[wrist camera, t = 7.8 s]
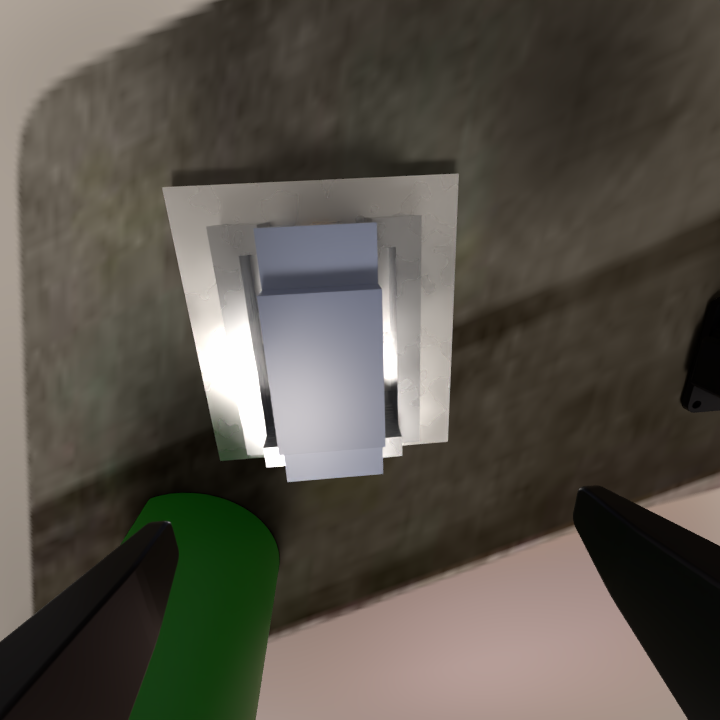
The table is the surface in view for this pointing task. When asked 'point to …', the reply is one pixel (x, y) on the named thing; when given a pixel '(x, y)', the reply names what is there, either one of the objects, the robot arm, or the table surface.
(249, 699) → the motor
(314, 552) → the table surface
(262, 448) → the chassis
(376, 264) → the block
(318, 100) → the table surface
